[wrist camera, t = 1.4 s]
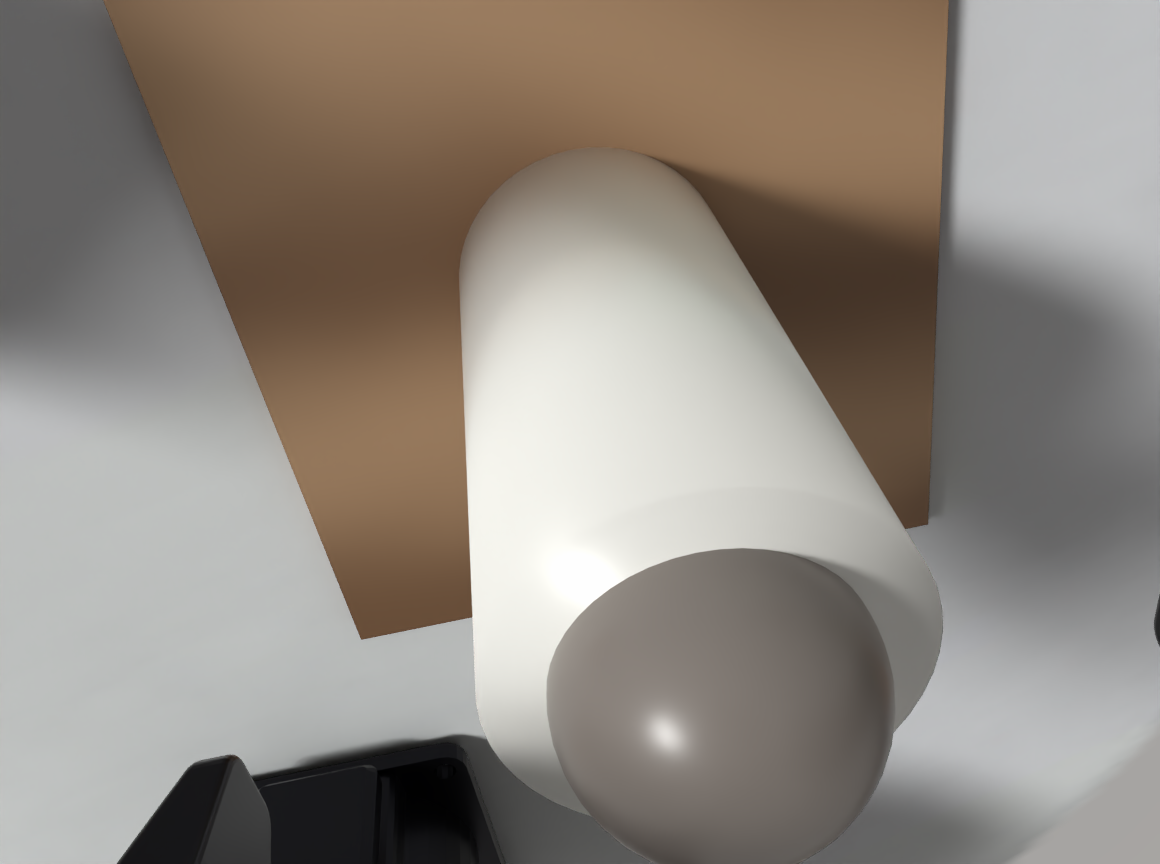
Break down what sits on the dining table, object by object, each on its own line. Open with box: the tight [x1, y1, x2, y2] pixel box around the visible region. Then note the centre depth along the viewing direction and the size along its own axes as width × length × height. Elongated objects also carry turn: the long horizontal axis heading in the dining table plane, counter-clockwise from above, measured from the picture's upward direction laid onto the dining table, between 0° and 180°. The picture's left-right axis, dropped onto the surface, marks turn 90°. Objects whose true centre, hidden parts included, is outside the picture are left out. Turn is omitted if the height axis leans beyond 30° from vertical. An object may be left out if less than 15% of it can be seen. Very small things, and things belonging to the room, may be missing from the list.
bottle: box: [459, 147, 943, 864], centre depth 13 cm, size 4×4×11 cm
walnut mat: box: [103, 0, 949, 640], centre depth 17 cm, size 14×12×1 cm
